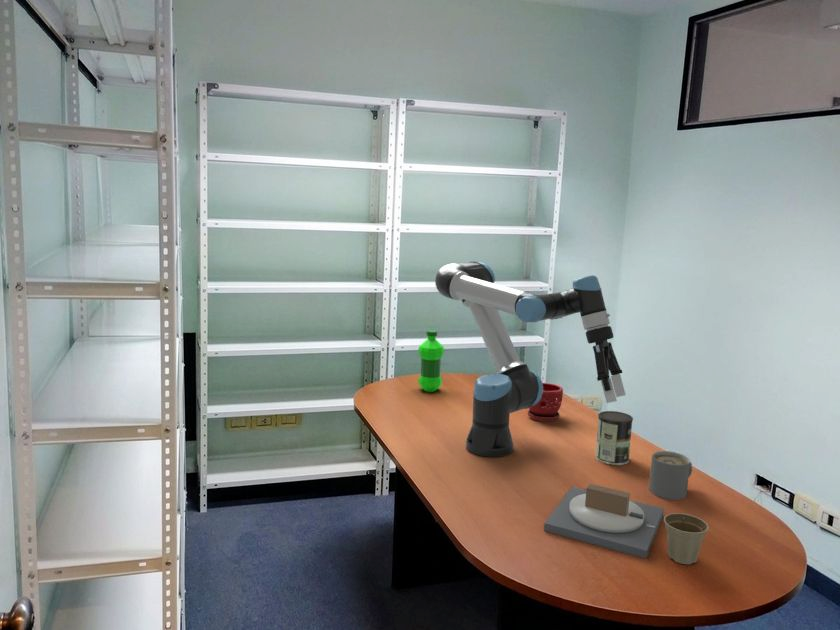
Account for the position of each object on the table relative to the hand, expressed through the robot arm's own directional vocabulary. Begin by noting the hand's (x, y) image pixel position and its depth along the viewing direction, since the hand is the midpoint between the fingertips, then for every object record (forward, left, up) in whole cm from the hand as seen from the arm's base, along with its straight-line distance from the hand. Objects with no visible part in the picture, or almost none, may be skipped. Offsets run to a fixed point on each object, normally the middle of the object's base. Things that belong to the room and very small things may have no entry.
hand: (616, 399), depth 190 cm
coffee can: (-2, +12, -23) cm, 26 cm away
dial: (+6, -31, -21) cm, 38 cm away
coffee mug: (+18, -2, -23) cm, 29 cm away
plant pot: (-33, +38, -23) cm, 55 cm away
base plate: (+6, -31, -23) cm, 39 cm away
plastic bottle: (-84, +45, -23) cm, 98 cm away
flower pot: (+25, -38, -23) cm, 51 cm away
